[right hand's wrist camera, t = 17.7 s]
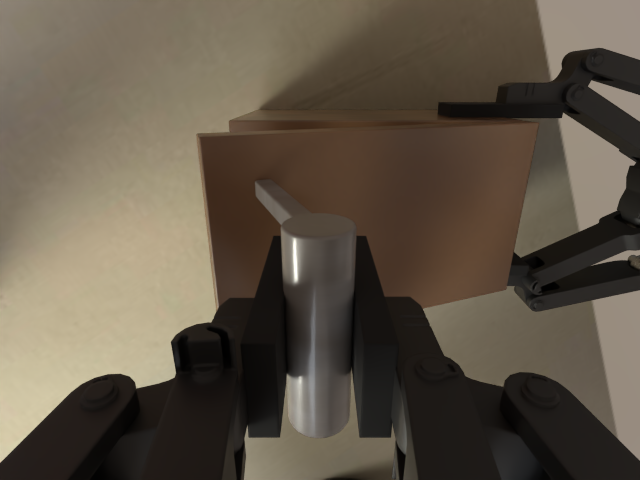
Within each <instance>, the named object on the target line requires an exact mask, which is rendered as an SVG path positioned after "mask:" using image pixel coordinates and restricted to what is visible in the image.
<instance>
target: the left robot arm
mask: <svg viewBox="0 0 640 480" xmlns="http://www.w3.org/2000/svg"><path fill="white" fill-rule="evenodd" d="M591 80H593V81H596V82H599V83H603V84H606V85H609V86H612V87H616V88H619V89H622V90H625V91H628V92H632V93H635V94H638V95H640V60H638V59H635V58H632V57H628V56H625V55H622V54H619V53H616V52H613V51H610V50H606V49H603V48H595V49H588V50H580V51H573V52H570V53H568V54H567V55H566V56H565V57H564V58H563V60H562V70H561V72H560V73H559V75H558V76H557V78H556V79H555V80H553V81H551V82H549V83H506V84H503V85H501V86H498V93H497V99H496V102H439V106H438V114H439V115H443V116H447V117H505V118H562V115H563V113H565V114H567V115H568V116H570V117H571V118H573V119H574V120H576V121H577V122H579V123H580V124H582V125H583V126H585V127H586V128H588V129H589V130H591V131H593V132H594V133H596V134H597V135H599V136H600V137H602V138H603V139H605V140H606V141H608V142H609V143H611V144H612V145H614V146H615V147H617V148H619V149H620V150H619V151H620V152H621V153H623V154H624V155H626V156H627V157H629V158H630V159H632V160H633V161H635V162H636V164H635V165H634V166H630V167H629V170H628V173H627V177H626V190H625V191H624V193H623V195H622V197H621V198H620V201H619V204H618V207H617V210H618V211H616V212H613V213H611V214H609V215H607V216H604V217H602V218H601V219H600V220H599V223H598V224H596V225H594V226H592V227H589V228H587V229H585V230H583V231H580V232H578V233H576V234H574V235H571V236H569V237H567V238H565V239H562V240H560V241H558V242H556V243H553V244H551V245H549V246H547V247H544V248H542V249H540V250H538V251H535V252H533V253H531V254H529V255H526V256H524V257H522V258H520V257H519V256H518V255H517V254H515V253H514V252H513V257H512V262H511V267H510V272H509V277H508V282H507V286H515V287H514V291H515V293H516V294H517V295H518V296H519V297H520V298H521V299H522V300H523V301H524V302H525V303H526V304H527V306H528V307H529V308H530V309H531V310H532V311H535V312H536V311H543V310H548V309H552V308H557V307H562V306H567V305H571V304H576V303H581V302H586V301H590V300H595V299H600V298H605V297H609V296H614V295H619V294H624V293H628V292H633V291H638V290H640V255H639V256H635V255H631V256H629V258H628V261H626V260H620V261H612V262H606V263H602V264H598V265H593V264H596V263H598V262H600V261H603V260H605V259H607V258H609V257H612V256H614V255H617V254H619V253H621V252H624V251H626V250H640V122H639V121H638V120H636V119H635V118H633V117H632V116H630V115H629V114H627V113H626V112H624V111H623V110H622V109H620V108H619V107H617V106H616V105H614V104H613V103H611V102H610V101H608V100H607V99H605V98H604V97H602V96H601V95H599V94H598V93H596V92H595V91H593V90H592V89H591V88H589V87H588V85H589V83H590V81H591ZM591 265H593V266H591Z"/></svg>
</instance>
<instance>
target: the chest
mask: <svg viewBox="0 0 640 480" xmlns="http://www.w3.org/2000/svg"><path fill="white" fill-rule="evenodd" d="M501 121H522V120H517V119H511V118H505V117H447V116H443V115H439V114H438V110H256V111H254V112H251V113H248V114H246V115H243V116H240V117H238V118H235V119H232V120H230V121H229V129H230V132H250V131H275V130H300V129H325V128H350V127H376V126H401V125H426V124H451V123H476V122H501Z"/></svg>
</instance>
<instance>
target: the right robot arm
mask: <svg viewBox="0 0 640 480" xmlns="http://www.w3.org/2000/svg"><path fill="white" fill-rule="evenodd" d="M171 345H172V351H173V357H174V363H175V369H176V376H175V378H173V379H171V380H169V381H166V382H162V383H159V384H155V385H151V386H146V387H142V388H137V389H136V385H135V382H134V381H133V380H132V379H131V378H130V377H129V376H126V375H122V374H108V375H104V376H100V377H96V378H94V379H92V380H89V381H87V382H85V383H83V384H81V385H80V386H79V387H78V388H76V389H75V390H74V391H72V392H71V393H70V394H69V395H68V396H67V397H66V398H65V399H64V400H63V401H62V402H61V403H60V404H59V405H58V406H57V407H56V408H55V409H54V410H53V411H52V412H51V413H50V414H49V415H48V416H47V417H46V418H45V419H44V420H43V421H42V422H41V423H40V424H39V425H38V426H37V427H36V428H35V429H34V430H33V431H32V432H31V433H30V434H29V435H28V436H27V437H26V438H25V439H24V440H23V441H22V442H21V443H20V444H19V445H18V446H17V447H16V448H15V449H14V450H13V451H12V452H11V453H10V454H9V455H8V456H7V457H6V458H5V459H4V460H3V461H2V462H1V463H0V480H244V472H245V460H246V452H245V441H244V437H245V433H246V428H247V424H248V435H249V437H280V432H281V423H282V415H283V406H284V397H285V388H286V379H287V357H286V332H285V306H284V292H283V276H282V251H281V236H273V239H272V242H271V245H270V249H269V252H268V255H267V258H266V262H265V265H264V268H263V272H262V275H261V278H260V281H259V285H258V288H257V291H256V294H255V298H229V299H227V300H226V301H225V302H224V303H223V304H221V305H220V306H219V307H218V309H217V312H216V314H215V316H214V319H213V320H212V323H202V324H196V325H194V326H191V327H188V328H186V329H184V330H182V331H181V332H180V333H178V334H177V335H176V336H175V337H174V338H173V340H172V341H171ZM352 374H353V383H354V392H355V401H356V409H357V418H358V427H359V436H360V437H361V438H391V430H392V424H393V428H394V433H395V438H396V441H395V452H394V462H393V472H392V479H396V480H640V461H639V460H638V459H637V458H636V457H635V456H634V455H633V454H632V453H631V452H630V451H629V450H628V449H627V448H626V447H625V446H624V445H623V444H622V443H621V442H620V441H619V440H618V439H617V438H616V437H615V436H614V435H613V434H612V433H611V432H610V431H609V430H608V429H607V428H606V427H605V426H604V425H603V424H602V423H601V422H600V421H599V420H598V419H597V418H596V417H595V416H594V415H593V414H592V413H591V412H590V411H589V410H588V409H587V408H586V407H585V406H584V405H583V404H582V403H581V402H580V401H579V400H578V399H577V398H576V397H575V396H574V395H573V394H572V393H571V392H570V391H568V390H567V389H566V388H565V387H563V386H562V385H561V384H559V383H558V382H556V381H554V380H552V379H550V378H548V377H546V376H542V375H538V374H535V373H525V372H519V373H515V374H512V375H510V376H509V377H508V378H507V379H506V380H505V383H504V387H501V386H496V385H492V384H487V383H483V382H479V381H476V380H472V379H470V378H468V377H466V376H465V375H464V373H463V371H462V369H461V368H460V366H459V365H458V364H457V363H455V362H454V361H453V360H451V359H450V358H448V357H445V356H444V355H443V352H442V350H441V348H440V346H439V344H438V342H437V339H436V337H435V335H434V333H433V331H432V328H431V327H430V324H429V322H428V320H427V318H426V315H425V313H424V311H423V309H422V307H421V305H420V304H419V303H417V302H416V301H415V300H414V299H412V298H411V297H385V296H384V293H383V289H382V286H381V283H380V280H379V276H378V273H377V270H376V266H375V263H374V260H373V257H372V253H371V250H370V247H369V244H368V240H367V237H366V236H356V259H355V286H354V314H353V341H352Z"/></svg>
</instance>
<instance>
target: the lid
mask: <svg viewBox="0 0 640 480" xmlns="http://www.w3.org/2000/svg"><path fill="white" fill-rule="evenodd" d="M538 127H539V123H538V122H528V121H501V122H476V123H451V124H426V125H401V126H376V127H350V128H325V129H300V130H275V131H250V132H225V133H200V134H197V135H196V136H197V145H198V153H199V162H200V171H201V180H202V189H203V197H204V206H205V215H206V224H207V233H208V241H209V250H210V259H211V268H212V277H213V285H214V294H215V303H216V312H217V309H218V307H219V306H220V305H221V304H223V303H224V302H225V301H226V300H227V299H229V298H255V294H256V291H257V288H258V285H259V281H260V278H261V275H262V272H263V268H264V265H265V262H266V258H267V255H268V252H269V249H270V245H271V242H272V239H273V236H281V251H282V276H283V292H284V306H285V332H286V357H287V402H288V418H289V421H290V423H291V424H292V426H293V427H294V428H295V429H296V430H297V431H298V432H299V433H301V434H303V435H305V436H308V437H312V438H326V437H330V436H333V435H335V434H337V433H338V432H340V431H341V430H342V429H343V428H344V427H345V425H346V424H347V422H348V420H349V416H350V395H351V368H352V341H353V314H354V286H355V259H356V236H366V237H367V240H368V244H369V247H370V250H371V253H372V257H373V260H374V263H375V266H376V270H377V273H378V276H379V280H380V283H381V286H382V289H383V293H384V296H385V297H411V298H412V299H414V300H415V301H416V302H417V303H419V304H420V305H421V307H422V309H423V308H427V307H432V306H436V305H441V304H445V303H449V302H454V301H458V300H463V299H467V298H471V297H476V296H480V295H485V294H489V293H494V292H498V291H502V290H506V287H507V282H508V277H509V272H510V267H511V262H512V257H513V252H514V247H515V242H516V237H517V232H518V227H519V222H520V217H521V212H522V207H523V202H524V197H525V192H526V187H527V182H528V177H529V172H530V167H531V162H532V157H533V152H534V147H535V142H536V137H537V132H538Z"/></svg>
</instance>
